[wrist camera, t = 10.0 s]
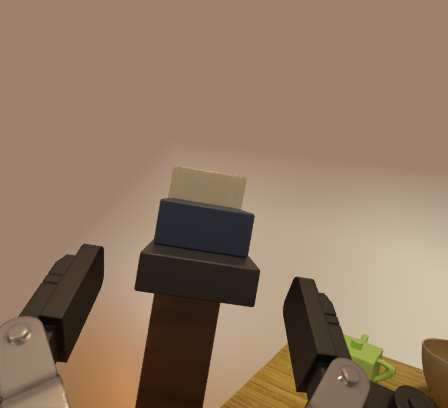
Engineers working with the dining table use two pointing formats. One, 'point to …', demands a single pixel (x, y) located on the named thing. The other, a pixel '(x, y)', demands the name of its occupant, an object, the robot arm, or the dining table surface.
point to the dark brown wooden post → (177, 352)
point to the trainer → (201, 241)
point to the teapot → (369, 358)
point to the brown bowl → (436, 369)
